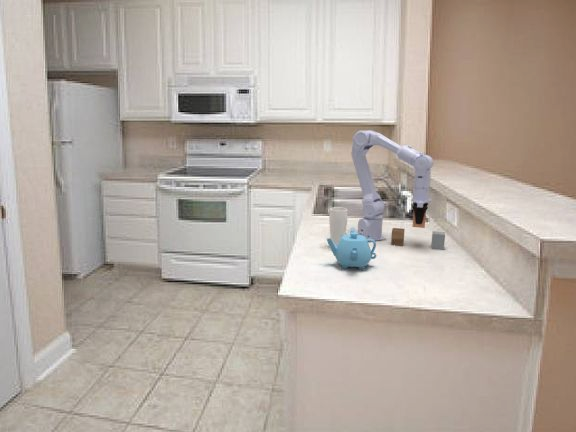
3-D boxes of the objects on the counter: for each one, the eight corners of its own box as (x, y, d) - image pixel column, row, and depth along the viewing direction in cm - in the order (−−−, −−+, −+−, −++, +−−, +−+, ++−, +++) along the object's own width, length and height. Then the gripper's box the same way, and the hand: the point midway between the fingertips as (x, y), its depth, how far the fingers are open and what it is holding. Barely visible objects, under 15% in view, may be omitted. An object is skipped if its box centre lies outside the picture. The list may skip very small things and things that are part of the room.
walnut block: (402, 246, 169) (403, 231, 168) (391, 245, 170) (391, 230, 169) (403, 243, 173) (404, 228, 172) (392, 242, 175) (392, 227, 173)
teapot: (321, 263, 148) (322, 231, 146) (350, 256, 156) (352, 225, 154) (353, 276, 136) (354, 241, 134) (383, 268, 144) (385, 235, 142)
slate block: (443, 250, 165) (445, 234, 163) (431, 249, 166) (432, 233, 165) (443, 247, 169) (444, 232, 168) (431, 245, 170) (432, 231, 169)
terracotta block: (424, 227, 165) (425, 212, 164) (412, 226, 166) (413, 211, 165) (424, 225, 169) (426, 210, 168) (412, 224, 171) (414, 209, 169)
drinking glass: (325, 245, 169) (326, 207, 165) (340, 243, 171) (342, 206, 168) (333, 250, 163) (335, 211, 159) (349, 248, 165) (351, 209, 162)
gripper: (432, 191, 157) (429, 227, 160) (432, 185, 170) (429, 219, 173) (412, 189, 159) (409, 226, 162) (413, 184, 172) (411, 217, 175)
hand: (418, 222), depth 168 cm, fingers closed on terracotta block, 4 cm apart
